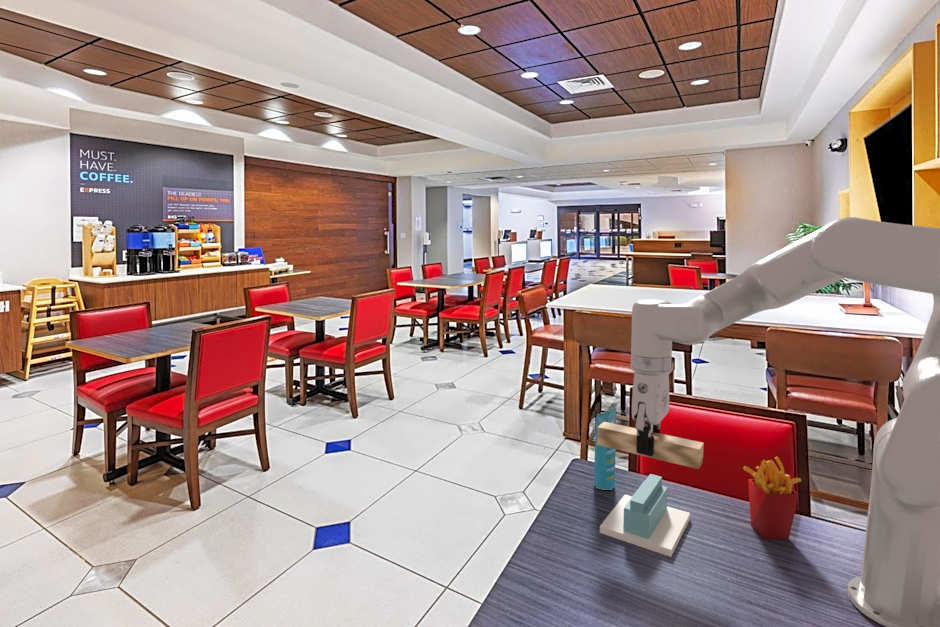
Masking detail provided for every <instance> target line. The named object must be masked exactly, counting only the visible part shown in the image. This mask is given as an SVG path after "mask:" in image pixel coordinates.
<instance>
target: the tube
mask: <svg viewBox="0 0 940 627" xmlns="http://www.w3.org/2000/svg"><path fill="white" fill-rule="evenodd" d="M603 422H608V423H613V424H617V406H615V407H612V408H611V409H609V410H606V411H603V412H602V413H599V414H596V415H595V432H594V466H593V467H594V468H593V470H594V471H593V473H594V474H593V475H594V476H593V486H594V485H595V486H596V487H598V488H600V489H605V490H606V489H607V490H610V489H613V488H614V487H615V486H616V452H617V449H613V448H608V447H604V446H600V445H597V433H598V426H599V425H600V424H602V423H603ZM595 486H594V487H595ZM596 487H595V488H596ZM615 488H616V487H615ZM615 488H614V489H615ZM614 489H613V490H614Z"/></svg>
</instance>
